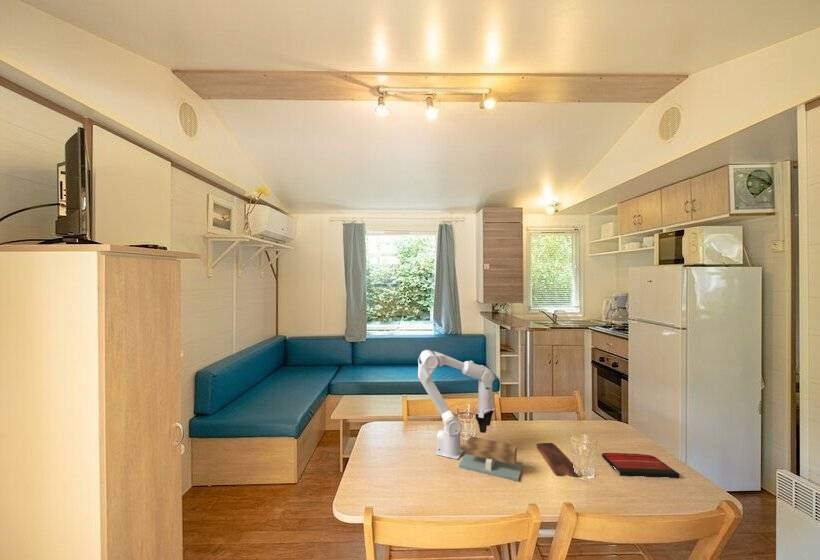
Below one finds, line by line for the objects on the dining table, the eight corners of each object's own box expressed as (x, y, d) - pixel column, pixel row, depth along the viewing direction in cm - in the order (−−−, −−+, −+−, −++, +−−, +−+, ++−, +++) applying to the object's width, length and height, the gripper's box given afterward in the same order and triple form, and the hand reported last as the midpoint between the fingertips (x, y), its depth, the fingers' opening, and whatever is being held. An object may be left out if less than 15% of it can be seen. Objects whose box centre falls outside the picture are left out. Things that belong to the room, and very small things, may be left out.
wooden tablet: (533, 440, 156) (555, 438, 156) (533, 445, 156) (556, 443, 156) (555, 474, 130) (582, 471, 129) (555, 480, 130) (583, 478, 129)
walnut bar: (467, 454, 138) (467, 441, 138) (470, 448, 143) (470, 436, 143) (514, 464, 130) (514, 451, 130) (516, 458, 135) (516, 445, 135)
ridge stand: (459, 467, 136) (459, 457, 136) (467, 453, 147) (467, 443, 147) (518, 481, 127) (518, 470, 126) (522, 465, 137) (523, 455, 137)
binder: (679, 473, 129) (619, 471, 130) (679, 479, 129) (619, 477, 130) (652, 453, 145) (599, 451, 146) (652, 459, 145) (599, 457, 146)
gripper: (490, 403, 140) (490, 437, 140) (498, 392, 153) (498, 423, 153) (473, 400, 143) (473, 434, 143) (482, 390, 156) (482, 421, 156)
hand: (485, 428), depth 149 cm, fingers open, 7 cm apart
